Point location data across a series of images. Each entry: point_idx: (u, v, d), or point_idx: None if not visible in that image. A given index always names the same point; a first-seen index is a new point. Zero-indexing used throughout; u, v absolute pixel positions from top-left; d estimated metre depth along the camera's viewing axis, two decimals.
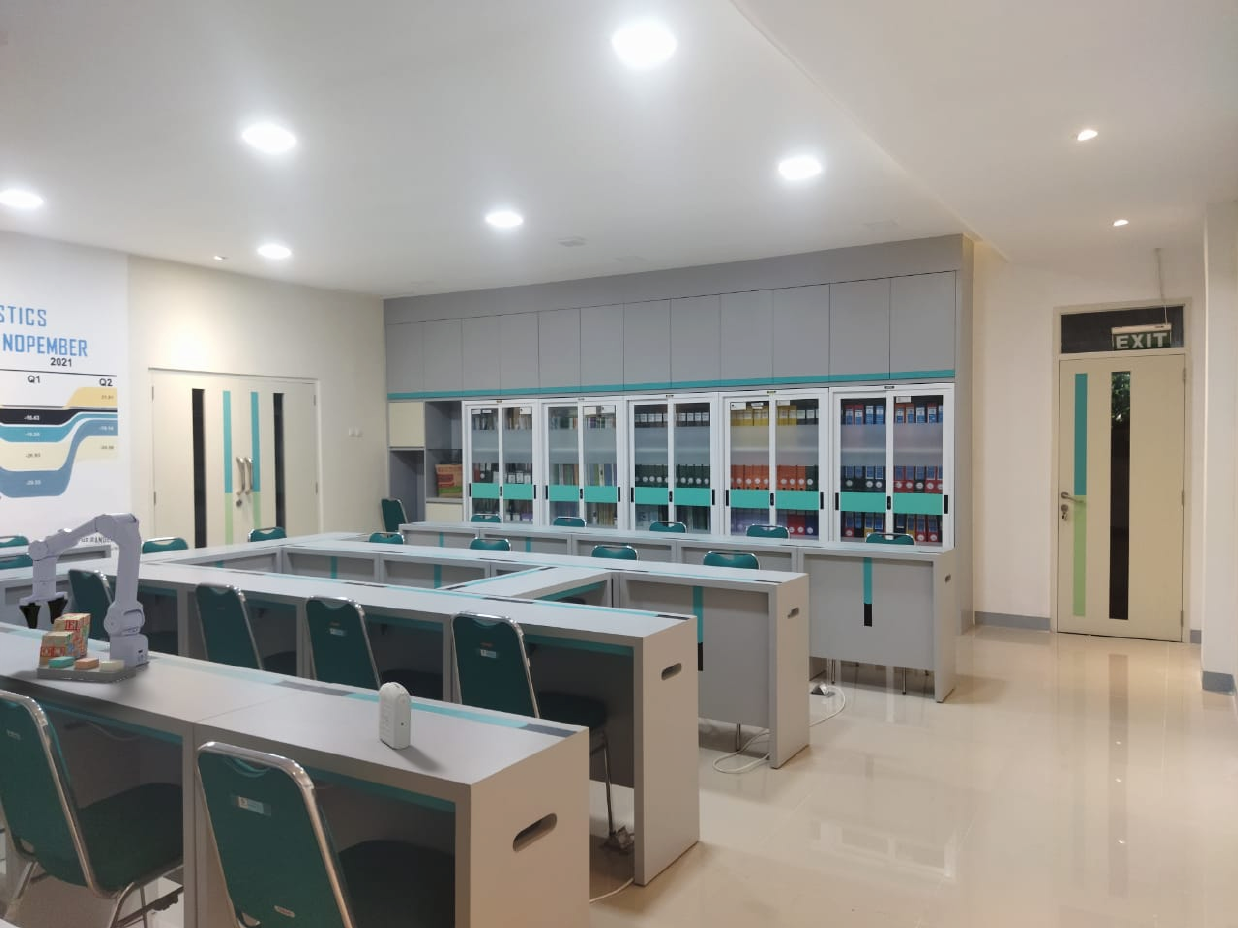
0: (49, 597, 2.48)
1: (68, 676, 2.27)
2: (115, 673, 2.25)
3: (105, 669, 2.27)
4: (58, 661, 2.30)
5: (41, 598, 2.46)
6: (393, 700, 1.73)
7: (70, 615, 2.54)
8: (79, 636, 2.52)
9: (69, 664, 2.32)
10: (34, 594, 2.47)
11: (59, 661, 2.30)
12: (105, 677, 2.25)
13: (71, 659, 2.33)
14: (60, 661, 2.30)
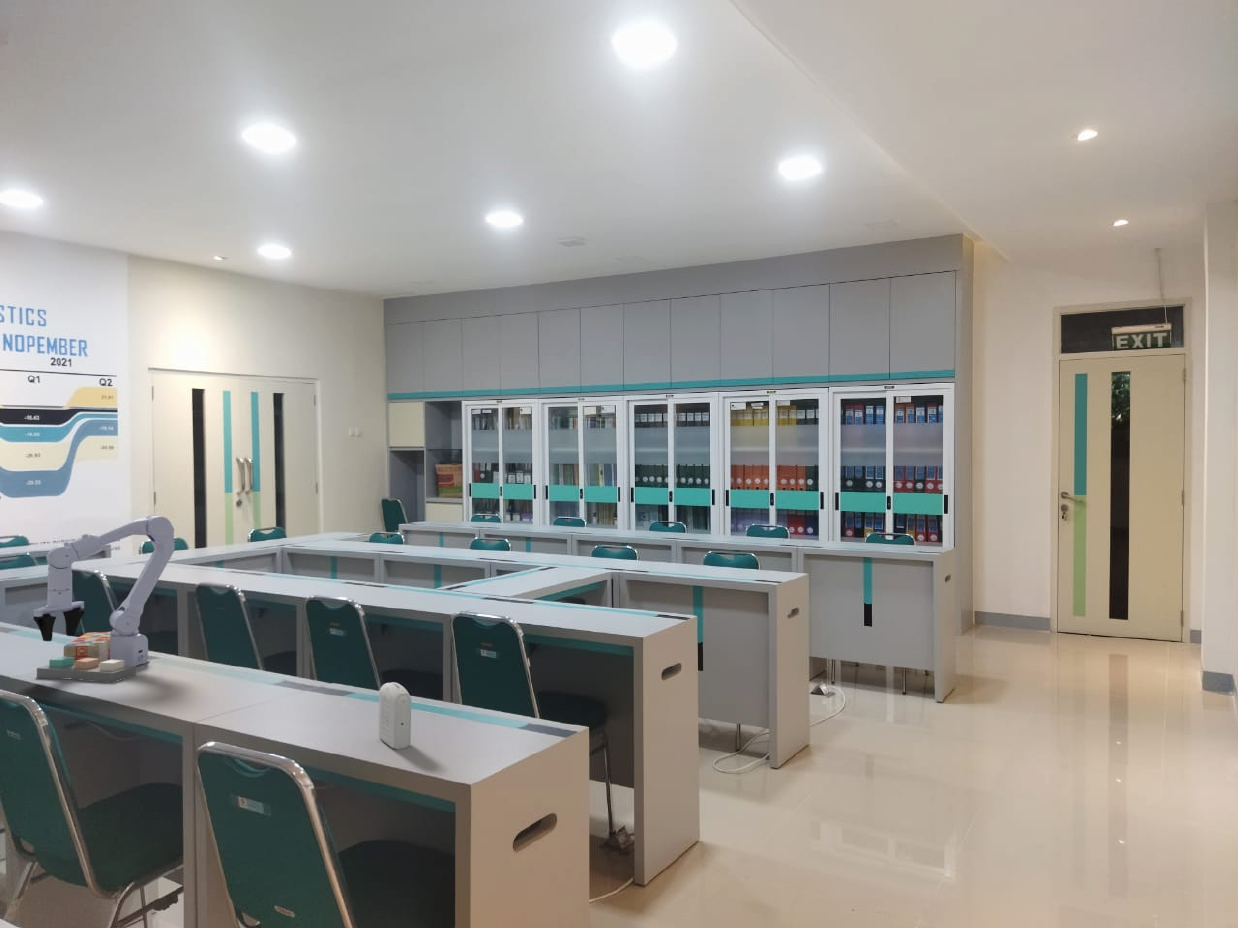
0: (65, 607, 2.33)
1: (68, 676, 2.27)
2: (115, 673, 2.25)
3: (105, 669, 2.27)
4: (58, 661, 2.30)
5: (56, 608, 2.32)
6: (393, 700, 1.73)
7: None
8: None
9: (69, 664, 2.32)
10: (49, 604, 2.32)
11: (59, 661, 2.30)
12: (105, 677, 2.25)
13: (71, 659, 2.33)
14: (60, 661, 2.30)
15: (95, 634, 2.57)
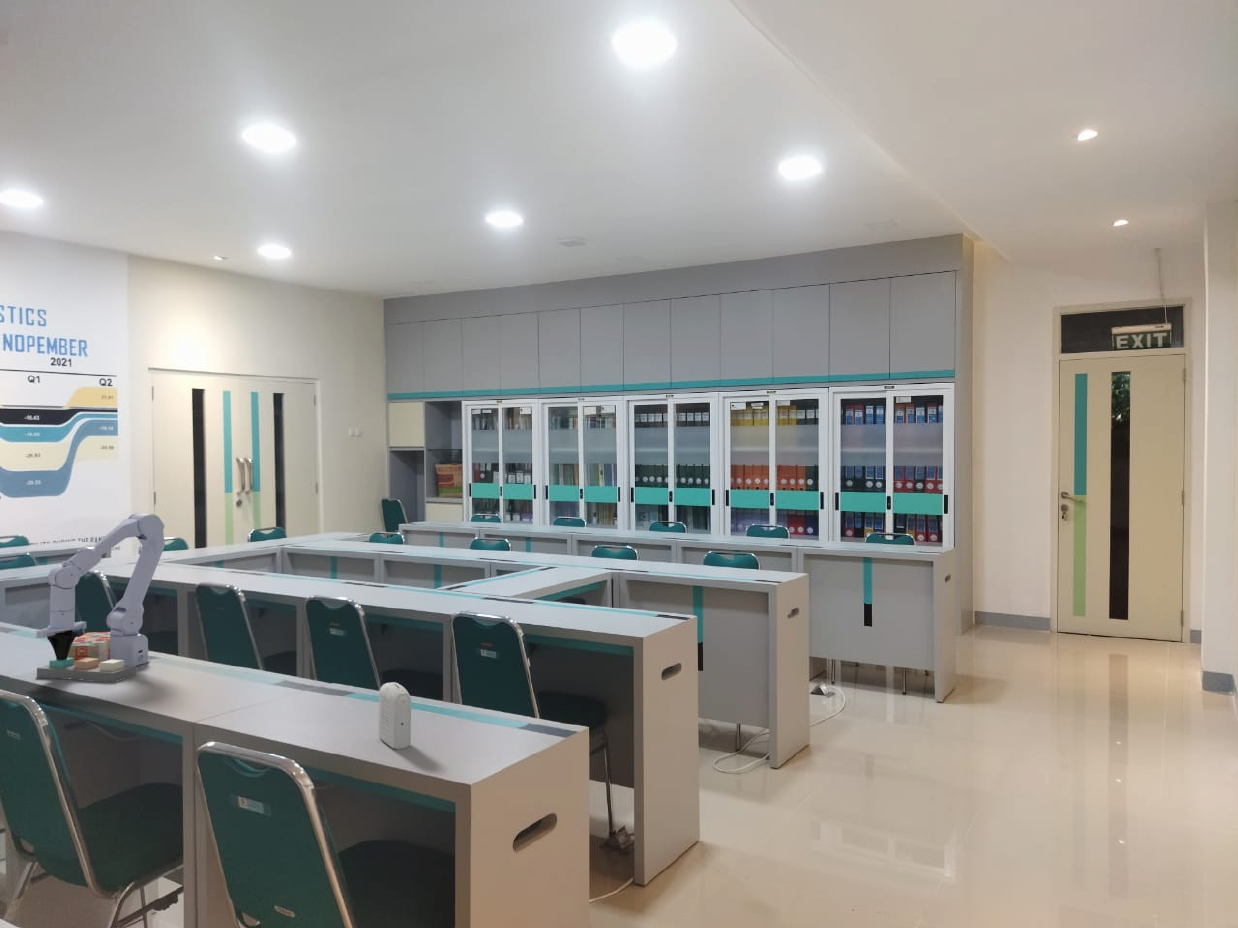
0: (68, 628, 2.31)
1: (68, 676, 2.27)
2: (115, 673, 2.25)
3: (105, 669, 2.27)
4: (58, 662, 2.30)
5: (59, 630, 2.29)
6: (393, 700, 1.73)
7: None
8: None
9: (69, 665, 2.32)
10: (51, 625, 2.30)
11: (59, 662, 2.30)
12: (105, 677, 2.25)
13: (71, 660, 2.33)
14: (60, 662, 2.30)
15: (95, 634, 2.57)
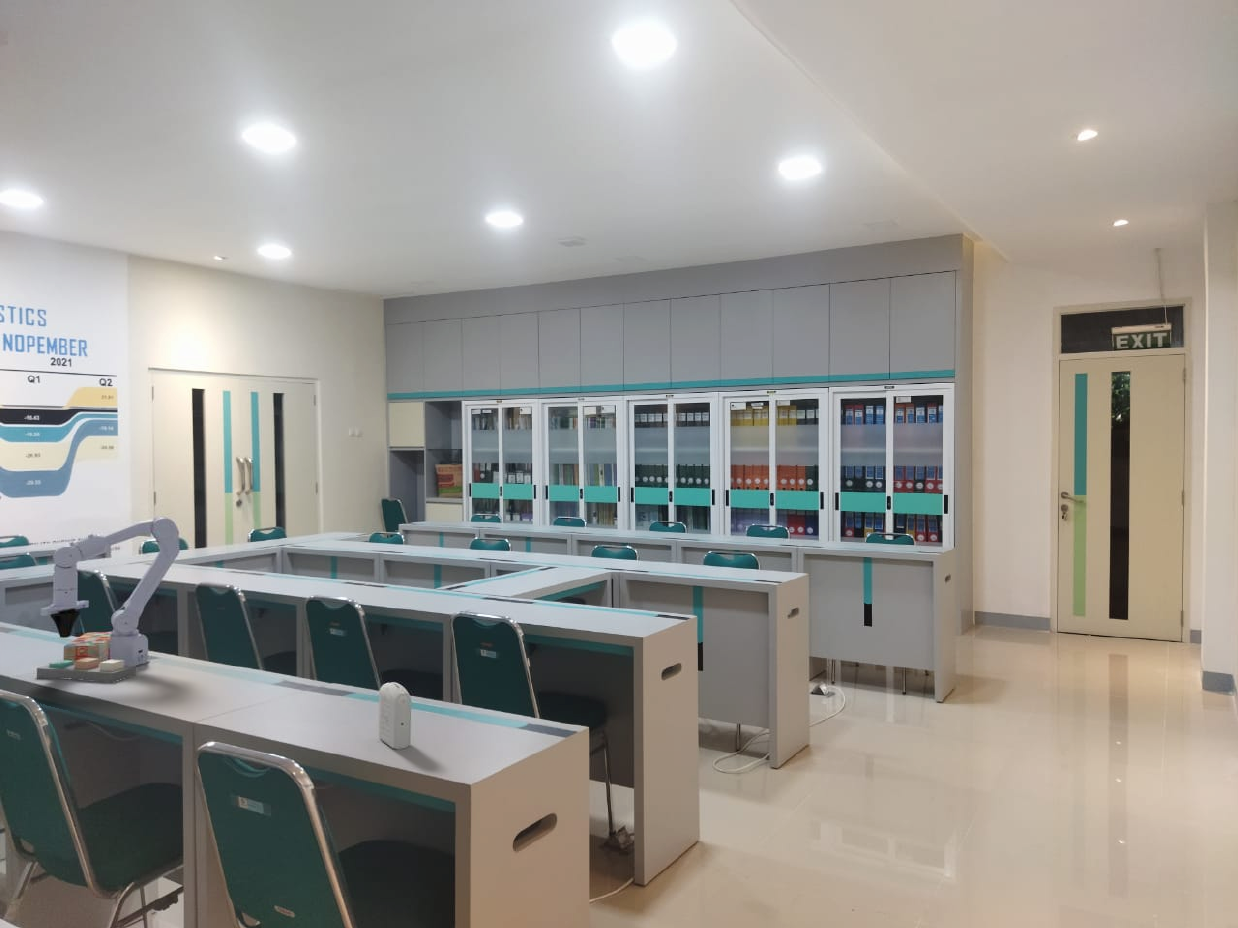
0: (71, 606, 2.36)
1: (68, 676, 2.27)
2: (115, 673, 2.25)
3: (105, 669, 2.27)
4: (58, 665, 2.30)
5: (63, 608, 2.34)
6: (393, 700, 1.73)
7: None
8: None
9: None
10: (55, 603, 2.34)
11: (59, 665, 2.30)
12: (105, 677, 2.25)
13: (71, 663, 2.33)
14: (60, 665, 2.30)
15: (95, 634, 2.57)
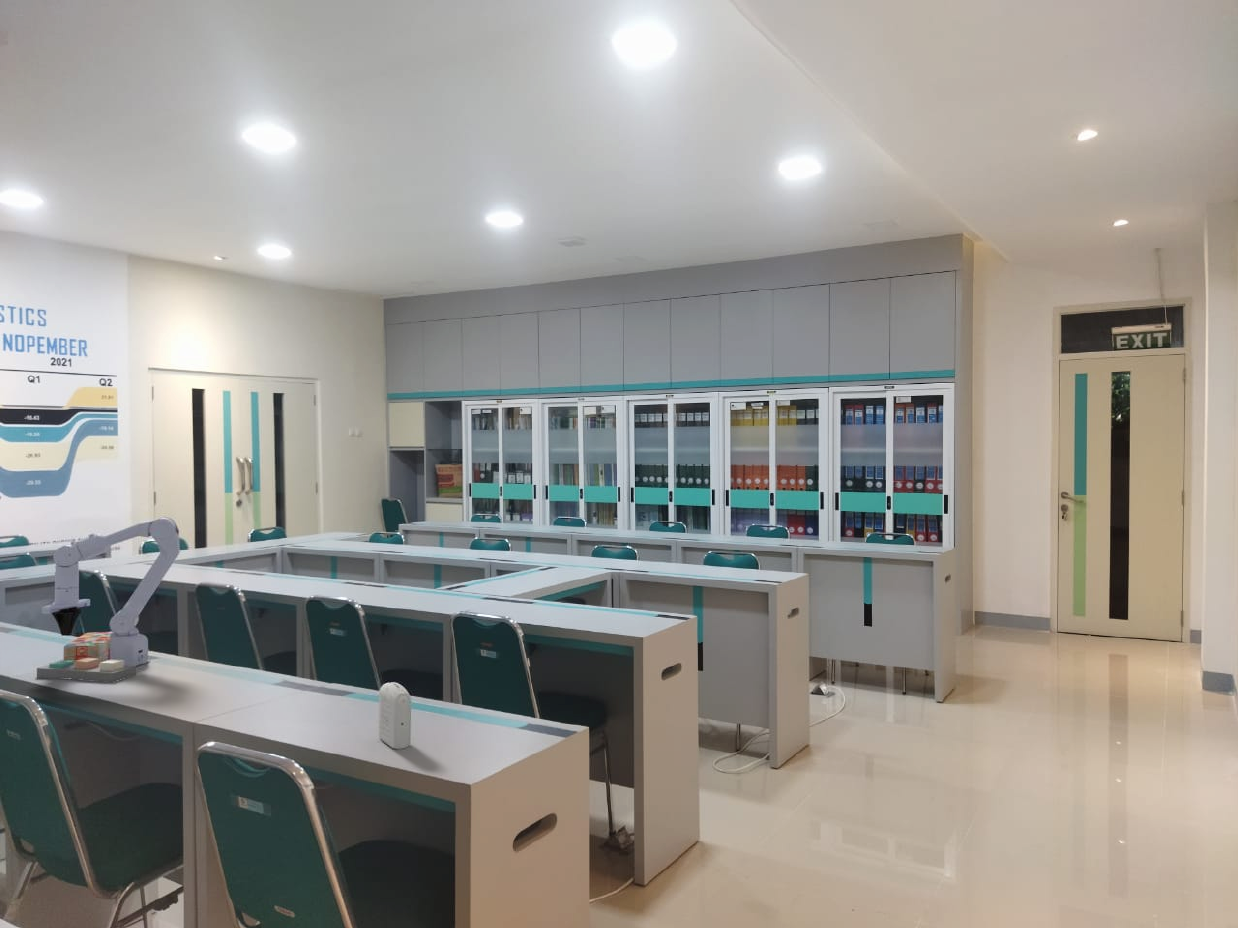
0: (72, 605, 2.38)
1: (68, 676, 2.27)
2: (115, 673, 2.25)
3: (105, 669, 2.27)
4: (58, 665, 2.30)
5: (64, 606, 2.36)
6: (393, 700, 1.73)
7: None
8: None
9: None
10: (56, 602, 2.37)
11: (59, 665, 2.30)
12: (105, 677, 2.25)
13: (71, 663, 2.33)
14: (60, 665, 2.30)
15: (95, 634, 2.57)
